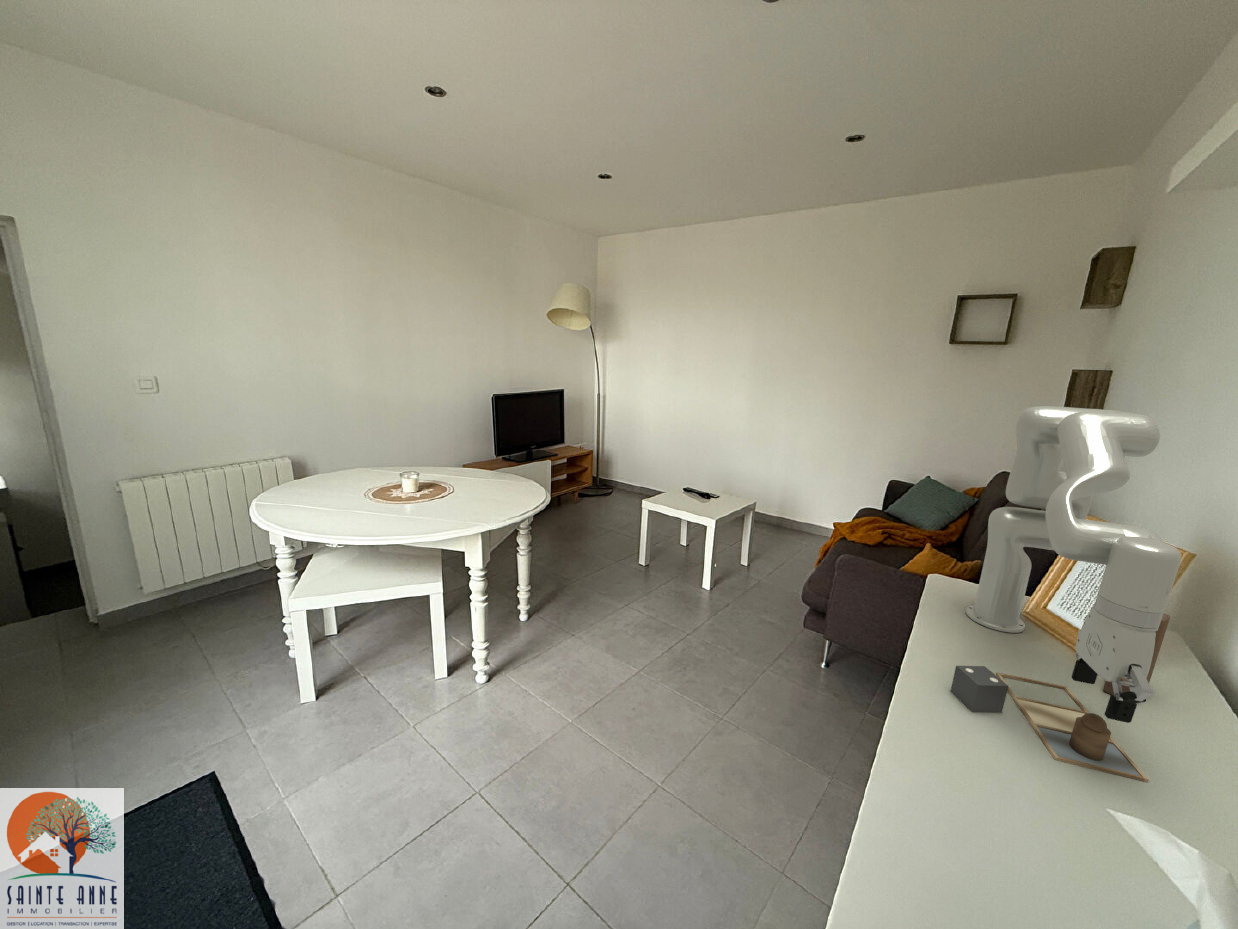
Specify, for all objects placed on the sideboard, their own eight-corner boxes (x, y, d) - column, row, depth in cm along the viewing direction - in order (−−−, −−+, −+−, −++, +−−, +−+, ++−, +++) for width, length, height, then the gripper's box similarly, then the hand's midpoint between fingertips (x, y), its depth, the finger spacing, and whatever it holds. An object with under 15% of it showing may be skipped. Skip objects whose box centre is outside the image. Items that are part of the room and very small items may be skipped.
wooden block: (1131, 705, 96) (1157, 625, 92) (1102, 691, 100) (1124, 614, 96) (1146, 691, 100) (1171, 615, 97) (1117, 679, 104) (1140, 605, 100)
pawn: (1063, 737, 86) (1073, 703, 85) (1093, 744, 85) (1104, 710, 83) (1077, 756, 82) (1088, 720, 81) (1109, 763, 81) (1120, 728, 79)
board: (995, 674, 104) (996, 672, 104) (1065, 688, 100) (1066, 686, 100) (1054, 759, 82) (1055, 757, 81) (1147, 782, 78) (1148, 780, 78)
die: (950, 691, 98) (956, 665, 97) (978, 691, 98) (984, 665, 97) (972, 712, 92) (978, 684, 91) (1001, 712, 92) (1008, 685, 91)
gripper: (1069, 583, 87) (1046, 664, 91) (1133, 634, 71) (1102, 730, 75) (1121, 591, 85) (1095, 673, 89) (1199, 646, 69) (1163, 743, 73)
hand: (1098, 699), depth 82 cm, fingers open, 9 cm apart
